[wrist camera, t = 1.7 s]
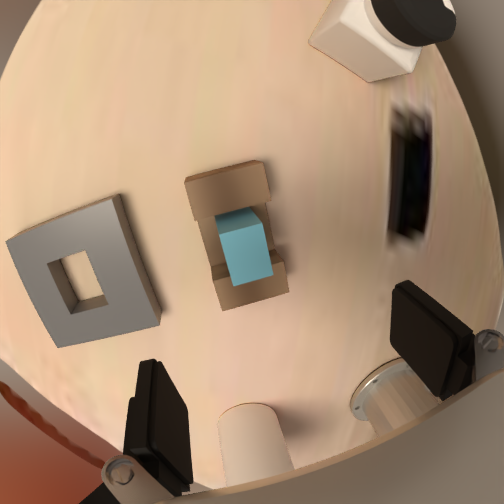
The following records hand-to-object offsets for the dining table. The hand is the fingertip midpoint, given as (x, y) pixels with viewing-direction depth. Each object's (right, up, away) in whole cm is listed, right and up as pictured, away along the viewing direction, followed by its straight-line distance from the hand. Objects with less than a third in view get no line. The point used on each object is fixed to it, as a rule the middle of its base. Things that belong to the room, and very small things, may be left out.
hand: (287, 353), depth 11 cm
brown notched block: (-3, +6, +16) cm, 18 cm away
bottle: (-2, -19, +26) cm, 32 cm away
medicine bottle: (+8, +24, +12) cm, 28 cm away
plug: (-3, +6, +16) cm, 17 cm away
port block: (-17, +2, +15) cm, 23 cm away
